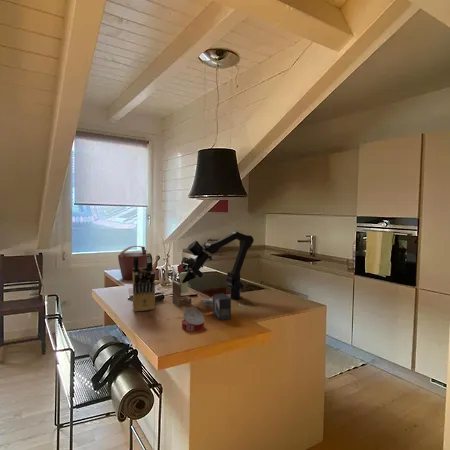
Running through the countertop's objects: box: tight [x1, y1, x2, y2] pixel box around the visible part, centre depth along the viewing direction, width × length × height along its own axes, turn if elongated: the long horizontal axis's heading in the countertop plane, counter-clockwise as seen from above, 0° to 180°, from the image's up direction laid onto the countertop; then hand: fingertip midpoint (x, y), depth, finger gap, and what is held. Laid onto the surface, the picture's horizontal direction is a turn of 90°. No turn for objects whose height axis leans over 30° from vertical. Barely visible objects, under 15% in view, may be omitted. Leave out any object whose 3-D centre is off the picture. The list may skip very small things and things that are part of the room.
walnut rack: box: [172, 280, 196, 308], centre depth 184 cm, size 10×9×13 cm
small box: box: [212, 292, 232, 321], centre depth 165 cm, size 11×6×10 cm, turn 21°
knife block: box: [132, 252, 156, 312], centre depth 180 cm, size 11×35×31 cm, turn 16°
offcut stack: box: [196, 298, 213, 311], centre depth 178 cm, size 8×7×5 cm
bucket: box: [117, 245, 148, 281], centre depth 257 cm, size 24×22×25 cm
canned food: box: [181, 306, 205, 333], centre depth 150 cm, size 11×10×10 cm
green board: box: [179, 271, 189, 294], centre depth 184 cm, size 4×2×11 cm, turn 120°
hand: (181, 282), depth 183 cm, fingers closed on green board, 2 cm apart
